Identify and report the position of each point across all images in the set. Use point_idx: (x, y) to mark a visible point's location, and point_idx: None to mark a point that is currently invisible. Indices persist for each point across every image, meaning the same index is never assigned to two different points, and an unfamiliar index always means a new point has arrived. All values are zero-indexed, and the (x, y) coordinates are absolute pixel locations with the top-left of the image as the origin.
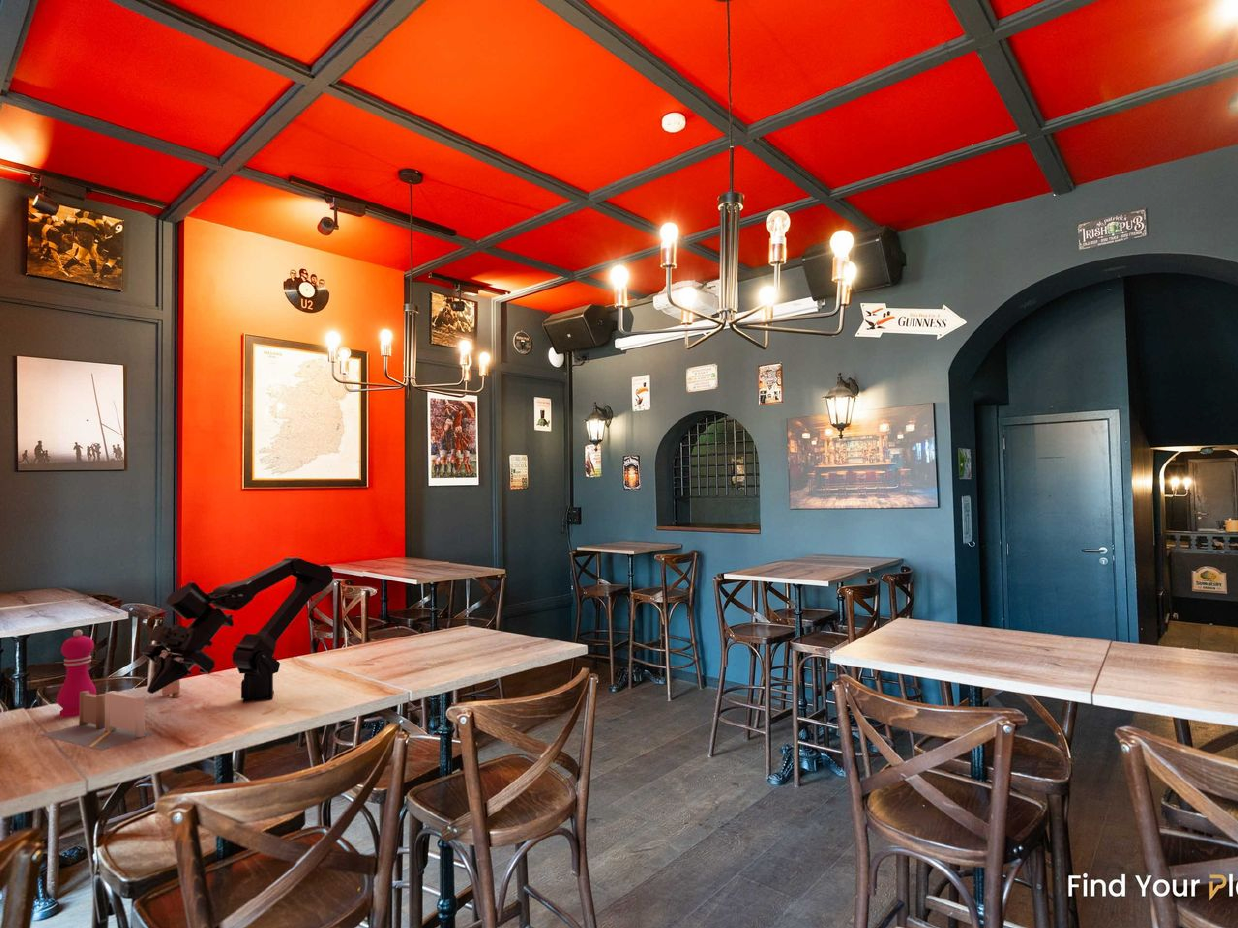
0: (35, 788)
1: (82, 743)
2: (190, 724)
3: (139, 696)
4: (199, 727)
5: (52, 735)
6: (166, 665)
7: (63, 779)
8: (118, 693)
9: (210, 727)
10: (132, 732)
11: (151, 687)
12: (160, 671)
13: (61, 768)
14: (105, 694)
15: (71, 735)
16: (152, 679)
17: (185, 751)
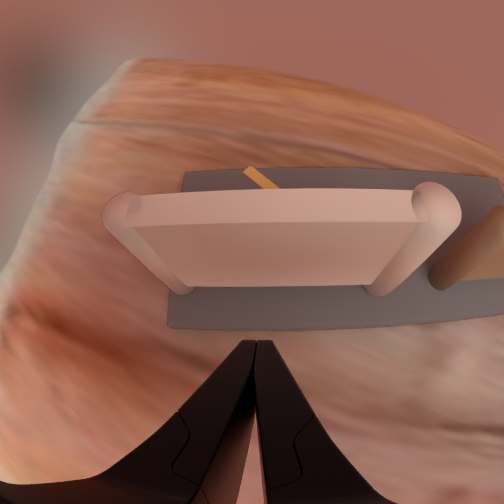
0: (139, 76)
1: (311, 176)
2: None
3: (153, 224)
4: (125, 450)
5: (471, 184)
6: (126, 496)
7: (127, 102)
8: (374, 210)
9: (92, 455)
10: (269, 301)
11: (236, 353)
12: (263, 472)
13: (190, 111)
14: (434, 186)
15: None
16: (291, 392)
17: (10, 281)
